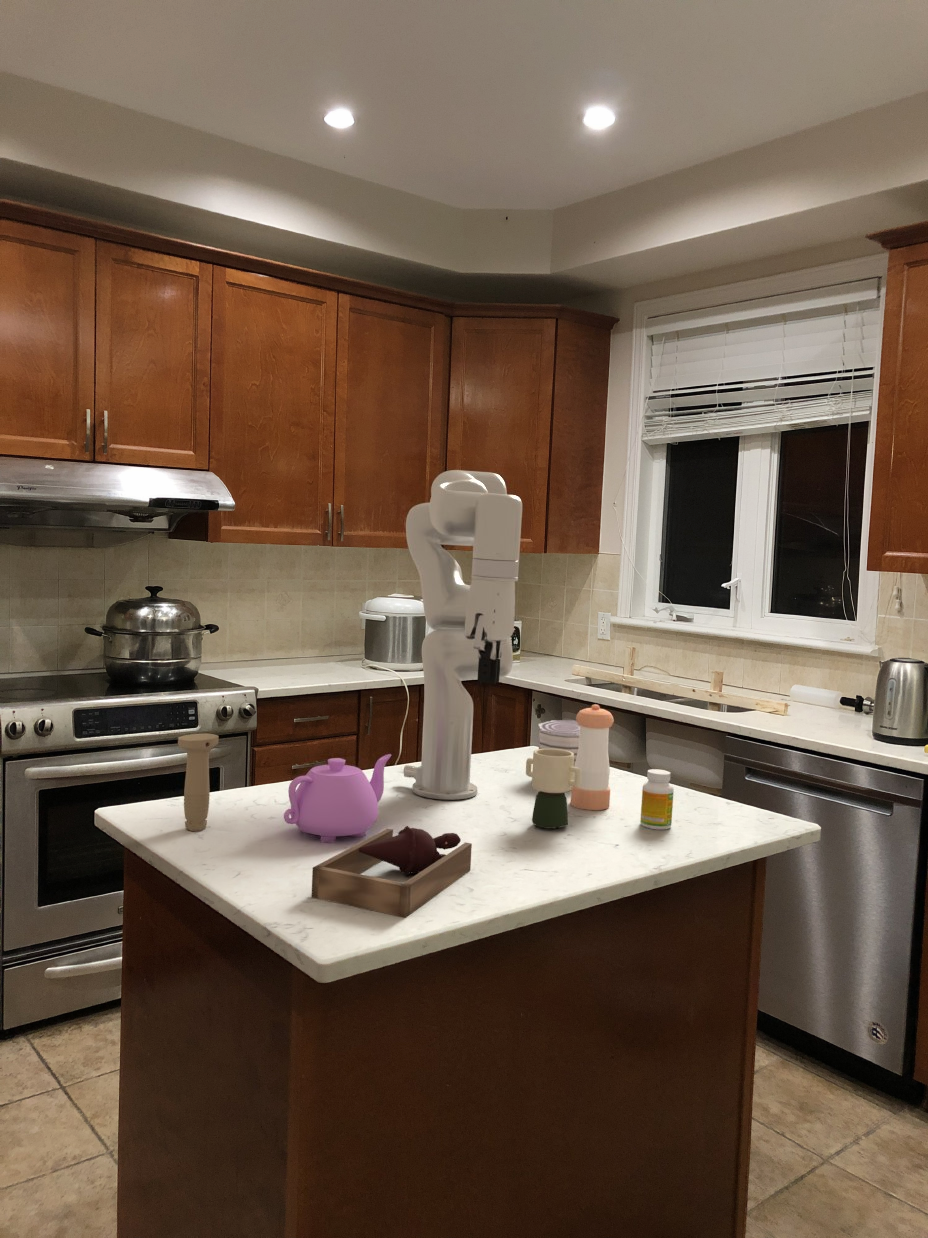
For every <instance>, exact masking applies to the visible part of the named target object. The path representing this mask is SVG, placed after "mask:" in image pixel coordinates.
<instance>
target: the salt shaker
mask: <svg viewBox="0 0 928 1238" xmlns="http://www.w3.org/2000/svg"><path fill="white" fill-rule="evenodd" d="M575 721H577V723H578V725H580V732H579V747H578V752H577V757H576V762H575V766H574V767H578V768H579V769H580V770H581V778H580V785H579V787H575V786H572V788H571V790H570V805H571V806H572V807H574V808H577V809H580V810H588V811H602V810H606V809H609V808H610V804H611V802H610V801H611V787H610V786H609V785H610V774H611V773H610V772H611V769H610V767H611V766H610V760H609V759H610V758H609V739H610V738H609V736H610V735H609V734H610V733H609V732H610V731H609V730H610V728H612V727H613V724H614V722H615V720H614V716H613V715H612V713H611V712H610V711H608V710H606V709H604V708H601V706H600V705H599V704H596V703H595V704H592V705H591V707H586V708H583V709H580V710H579V712H577V714H576V716H575ZM574 781H575V773H574Z"/></svg>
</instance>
